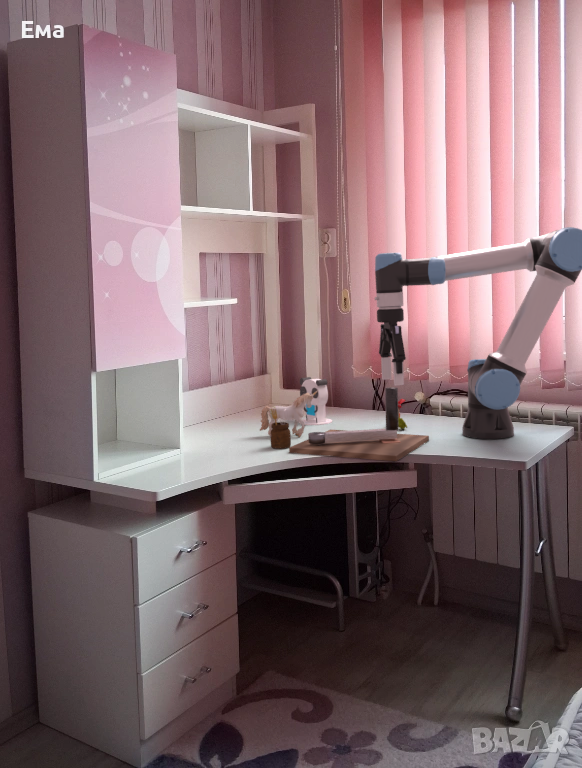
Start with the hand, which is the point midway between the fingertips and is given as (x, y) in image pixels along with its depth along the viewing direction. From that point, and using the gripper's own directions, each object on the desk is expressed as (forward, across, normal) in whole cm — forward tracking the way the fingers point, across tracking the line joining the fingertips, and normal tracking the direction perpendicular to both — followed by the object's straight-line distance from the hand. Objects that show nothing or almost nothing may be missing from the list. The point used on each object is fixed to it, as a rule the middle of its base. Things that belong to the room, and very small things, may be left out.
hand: (392, 382), depth 229 cm
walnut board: (+18, -1, -10) cm, 21 cm away
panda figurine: (+18, -44, -16) cm, 51 cm away
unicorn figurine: (+18, -25, -27) cm, 41 cm away
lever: (+16, 0, -12) cm, 20 cm away
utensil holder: (+18, -7, -32) cm, 38 cm away
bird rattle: (+19, -25, +7) cm, 32 cm away
